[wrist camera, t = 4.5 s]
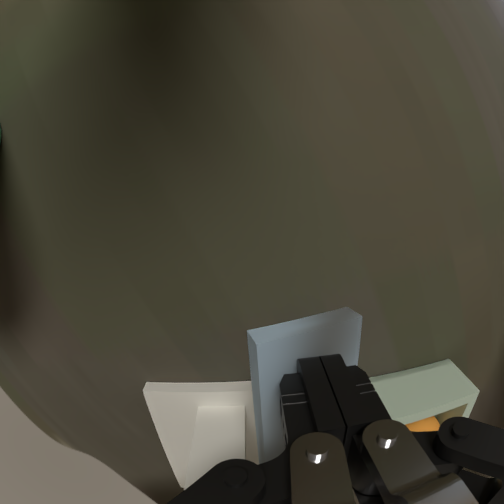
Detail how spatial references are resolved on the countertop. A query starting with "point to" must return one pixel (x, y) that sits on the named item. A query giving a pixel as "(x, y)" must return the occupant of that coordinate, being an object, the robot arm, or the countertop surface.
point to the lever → (293, 364)
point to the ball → (424, 425)
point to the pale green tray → (426, 392)
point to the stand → (203, 424)
